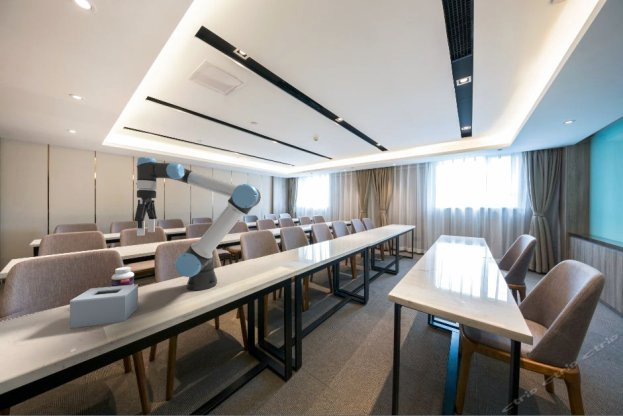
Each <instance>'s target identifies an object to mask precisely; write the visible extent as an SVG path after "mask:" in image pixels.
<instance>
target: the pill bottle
mask: <svg viewBox="0 0 623 416" xmlns="http://www.w3.org/2000/svg"><path fill="white" fill-rule="evenodd" d="M131 270H132V267H130V266H124V267H123V266H122V267H117V268H115V270H114V271H115V272H114V274H112V276H111V278H110V279H111V281H110V283H111V284H110V285H111V286H110V287H114V286H125V285H135V273H134V272H133V271H131Z"/></svg>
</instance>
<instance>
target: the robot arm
mask: <svg viewBox="0 0 623 416" xmlns="http://www.w3.org/2000/svg"><path fill="white" fill-rule="evenodd" d="M136 177H137V178H136V183H135V185H136V188H137V189H136V198H137V207H136V210H135V214H134V215H135V216H134V218H133V220H134V222H136V236H137V237H138V236H140V237H141V236H145V233H146V231H145V230H146V229H145V226H146V224H145V223H146V222H145V217H146V215H147V218H148V219H147V232H148V233H155V232H156V231H155V228H156V227H155V226H156V225H155V222H156V220H157V219H158V218H157V217H158V216H157V213H156V212H157V211H156V206H155V200H154V199H156V198H157V191H156V190H157V179H167V180H169V179H170V180H174V181H178V182H182V183H185V184H188V185H192V186H193V187H197V188H200V189H203V190H206V191H209V192H213V193H216V194H219V195H221V196H224V197H228V198H229V199H227V206H226V207H225V208H224V209H223V211H222V212H221V213H220V214H219V216H218V217H216V219H215V220H214V222H213V223H212V224H211V225H210V227H209V228H208V229H207V230H206V231H205V233H204V234H202V236H201V237H200V238H199V240H198V241H197V242H193V243H192V244H191V245H190V246H189V247H187V249H186V250H185V252H184V253H181V254H180V255H178V257H177V258H176V260H175V262H174V267H175V270H176V272H177V274H179V275H180V276H182V277H185V278H188V280H187V282H186V289H188V290H191V291H204V290H208V289H210V288H214V287H216V286H217V285H218V278H217V276H216V272H215V249H216V248H217V247H218V246H219V245H220V244H221V242H222V241H223V240H224V239H225V237H226V236H227V235H228V234H229V232H230V231H231V230H232V229H233V228H234V226H235V225H236V224H237V222H239V220H240V219H241V218H242V216H243V217H244V216H246V215H248V214H249V212H250V211H251V210H252V209H253V208H254V207H256V206H258V204H259V203H260V201H261V198H262V197H261V192H260V191H259V189H257V187H255V186H254V185H252V184H249V183H242V184H237V185H236V184H233V183H230V182H228V181H224V180H222V179H221V180H220V179H218V178H215V177H212V176H209V175H206V174H203V173H200V172H198V171H193V170H191V169H188V168H185V167H183V165H182V164H181V163H177V162H176V163H175V162H158V161H157V158H156V159H155V158H152V157H146V156H145V157H144V156H143V157H142V156H140V157H138V158H137V163H136ZM216 284H217V285H216Z"/></svg>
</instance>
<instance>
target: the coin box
mask: <svg viewBox="0 0 623 416" xmlns="http://www.w3.org/2000/svg"><path fill="white" fill-rule="evenodd" d="M138 307H139V284H137V283H136V284H134V285H125V286H114V287H111V286H104V287H93V288H92V287H91V288H89V289H88V290H86V291H84V292H83V293H81V294H79V295H78V296H75V297H74V298H72V299H70V300H69V329H77V328H83V327H84V328H85V327H89V326H90V327H91V326H99V325H105V324H106V325H107V324H113V323H122V322H126V321H127V319H128V318H129V317H130V316H131V315H132V314H133V313H134V312H135V311H136V309H138Z"/></svg>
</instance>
